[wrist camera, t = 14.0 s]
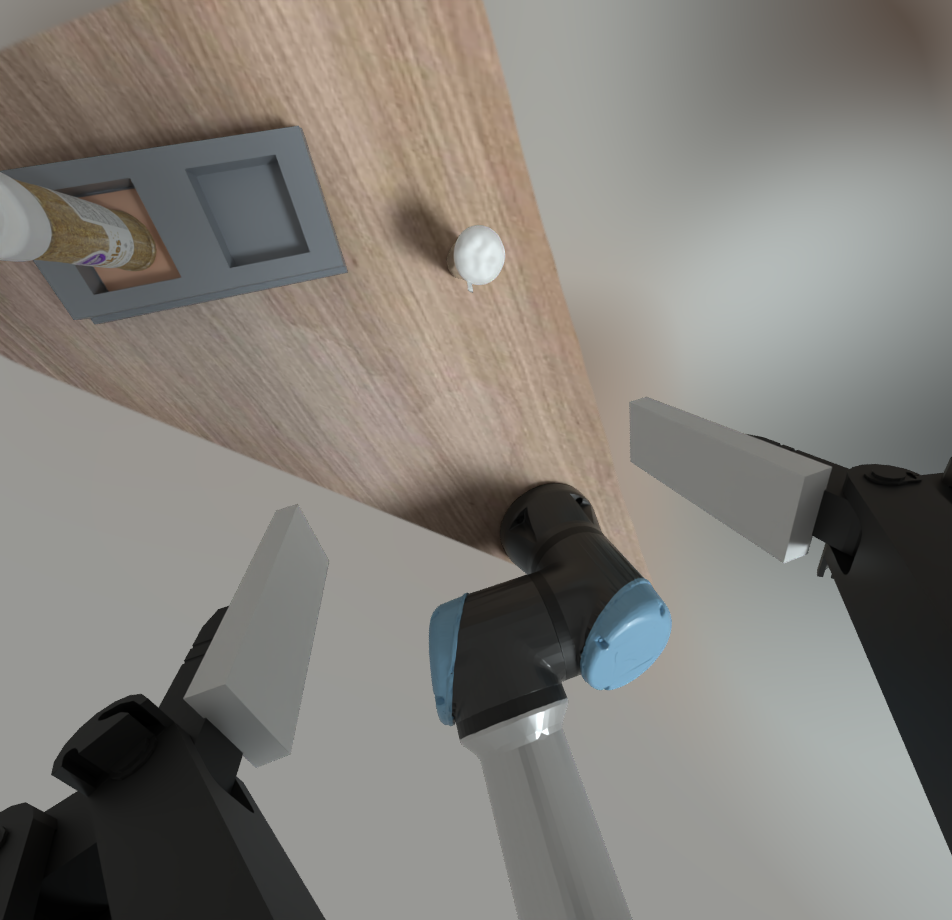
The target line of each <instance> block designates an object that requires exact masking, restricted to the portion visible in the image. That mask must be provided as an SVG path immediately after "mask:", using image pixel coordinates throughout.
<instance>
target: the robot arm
mask: <svg viewBox="0 0 952 920" xmlns="http://www.w3.org/2000/svg"><path fill="white" fill-rule="evenodd" d="M630 458H631V462H632V463H634V464H635V465H636V466H638V467H639V468H641V469H642V470H644V471H645V472H647V473H648V474H650V475H651V476H653V477H654V478H656V479H657V480H659V481H660V482H662V483H663V484H665V485H666V486H668V487H670V488H671V489H672V490H674V491H675V492H677V493H678V494H680V495H681V496H683V497H685V498H686V499H688V500H689V501H691V502H692V503H694V504H695V505H697V506H698V507H700V508H701V509H703V510H704V511H706V512H707V513H709V514H710V515H712V516H713V517H715V518H716V519H718V520H719V521H721V522H722V523H724V524H725V525H727V526H728V527H730V528H731V529H733V530H734V531H736V532H737V533H739V534H740V535H742V536H743V537H745V538H746V539H748V540H749V541H751V542H752V543H754V544H755V545H757V546H758V547H760V548H761V549H763V550H764V551H766V552H767V553H769V554H771V555H772V556H773V557H775V558H776V559H778V560H779V561H781V562H782V563H785V562H788V561H791V560H793V559H796V558H798V557H801V556H804V555H806V554H807V553H808V551H809V547H810V543H811V540H812V536H814V537H816V538H818V539H820V540H821V541H823V542H825V547H824V550H823V553H822V557H821V560H820V563H819V566H818V569H817V576H819V577H823V575H824V572H825V570H826V569H827V568H829V569H830V571H831V573H832V575H831V578H833V579H834V580H835V583H836V585H837V587H838V590H839V592H840V594H841V597H842V599H843V601H844V604H845V606H846V608H847V611H848V613H849V615H850V618H851V620H852V622H853V625H854V627H855V629H856V632H857V634H858V637H859V639H860V641H861V644H862V646H863V648H864V651H865V653H866V655H867V658H868V660H869V662H870V665H871V667H872V669H873V672H874V674H875V676H876V679H877V681H878V683H879V686H880V688H881V690H882V693H883V695H884V697H885V699H886V702H887V704H888V707H889V709H890V711H891V714H892V716H893V718H894V721H895V723H896V725H897V728H898V730H899V733H900V735H901V737H902V740H903V742H904V744H905V747H906V749H907V751H908V754H909V756H910V758H911V760H912V763H913V765H914V767H915V770H916V772H917V775H918V777H919V779H920V782H921V784H922V786H923V789H924V791H925V793H926V796H927V798H928V800H929V803H930V805H931V807H932V810H933V812H934V815H935V817H936V819H937V822H938V824H939V826H940V829H941V831H942V833H943V836H944V838H945V840H946V843H947V845H948V847H949V850H950V852H951V854H952V457H951V458H950V460H949V462H948V464H947V467H946V469H945V471H944V473H937V474H928V475H919V474H917V473H915V472H912V471H910V470H907V469H904V468H899V467H895V466H890V465H879V464H869V465H868V464H867V465H859V466H855V467H852V468H851V469H848V468H845V467H843V466H840V465H837V464H834V463H831V462H829V461H826V460H824V459H821V458H818V457H815V456H813V455H810V454H807V453H804V452H802V451H799V450H796V451H795V450H794V448H791V447H788V446H785V445H780V443H777V442H775V441H772V440H769V439H767V438H764V437H759V436H753V435H748V434H744V433H741V432H738V431H736V430H733V429H730V428H728V427H725V426H722V425H720V424H717V423H715V422H712V421H709V420H707V419H704V418H701V417H699V416H696V415H693V414H691V413H688V412H685V411H683V410H680V409H678V408H675V407H672V406H670V405H667V404H664V403H662V402H659V401H657V400H654V399H651V398H649V397H645V398H641V399H638V400H635V401H631V402H630ZM500 538H501V542H502V545H503V547H504V549H505V551H506V553H507V555H508V557H509V558H510V559H511V561H512V562H513V563H514V564H515V565H517V566H518V567H519V568H520V569H521V570H522V571H524V572H525V573H526V574H527V575H524V576H521V577H518V578H515V579H512V580H509V581H506V582H503V583H500V584H497V585H494V586H491V587H488V588H485V589H482V590H480V591H476V592H473V593H470V594H469V593H465V594H464V595H463V596H461V597H459V598H457V599H454V600H451V601H449V602H447V603H444V604H441V605H440V606H438V608H436V609H435V611H434V612H433V614H432V617H431V620H430V627H429V655H430V669H431V678H432V686H433V692H434V694H435V700H436V709H437V713H438V716H439V718H440V721H441V722H442V723H443V724H444V725H449V726H453V725H454V724H455V722H456V725H457V729H458V734H459V739H460V743H461V744H462V745H463V746H464V747H466V748H467V749H469V750H470V751H472V752H473V753H474V754H476V755H477V757H478V758H479V759H480V761H481V764H482V768H483V773H484V777H485V781H486V785H487V789H488V794H489V797H490V802H491V806H492V810H493V814H494V819H495V823H496V827H497V831H498V836H499V840H500V844H501V848H502V852H503V856H504V861H505V864H506V869H507V873H508V877H509V882H510V886H511V890H512V894H513V898H514V903H515V906H516V911H517V915H518V919H519V920H632V917H631V914H630V911H629V909H628V906H627V903H626V901H625V898H624V895H623V892H622V889H621V887H620V884H619V881H618V879H617V876H616V874H615V870H614V868H613V865H612V862H611V859H610V857H609V854H608V851H607V848H606V846H605V843H604V840H603V837H602V835H601V832H600V829H599V827H598V824H597V821H596V818H595V816H594V813H593V810H592V807H591V805H590V802H589V799H588V797H587V794H586V791H585V788H584V786H583V783H582V780H581V777H580V775H579V772H578V769H577V767H576V764H575V761H574V758H573V755H572V753H571V751H570V747H569V745H568V742H567V739H566V736H565V734H564V731H563V728H562V726H563V719H564V716H565V712H566V709H567V706H568V699H567V696H566V694H565V691H564V689H563V686H562V681H565V680H567V679H570V678H573V677H575V676H578V675H582V677H583V679H584V680H585V681H586V682H587V683H588V684H590V686H591V687H593V688H595V689H597V690H603V689H605V690H613V689H616V688H619V687H621V686H624V685H626V684H627V683H629V682H631V681H633V680H634V679H636V678H637V677H639V676H640V675H641V674H642V673H643V672H645V671H646V670H647V669H648V668H649V667H650V666H651V665H652V664H653V663H654V661H655V660H656V659H657V658H658V656H659V655H660V654H661V652H662V651H663V649H664V648H665V646H666V644H667V642H668V639H669V636H670V633H671V626H672V620H671V615H670V612H669V609H668V608H667V606H666V604H665V603H664V602H663V600H662V599H661V598H660V596H659V595H658V594H657V593H656V591H655V590H654V589H653V587H652V585H651V583H650V582H649V581H648V580H646V579H644V577H643V576H642V575H641V574H640V573H639V572H638V571H637V570H636V569H635V568H634V567H633V566H632V565H631V564H630V562H629V561H628V560H627V559H626V558H625V557H624V556H623V555H622V554H621V553H620V552H619V551H618V550H617V548H616V547H615V546H614V545H613V544H612V543H611V542H610V541H609V540H608V539H607V538H606V537H605V536H604V534H603V533H602V531H601V528H600V526H599V523H598V520H597V517H596V515H595V512H594V509H593V507H592V505H591V504H590V502H589V501H588V500H587V499H586V498H585V497H584V496H583V495H582V494H581V493H580V492H579V491H578V490H577V489H575V488H573V487H571V486H569V485H565V484H546V485H542V486H539V487H536V488H534V489H532V490H530V491H528V492H526V493H525V494H523V495H522V496H521V497H519V498H518V499H517V500H516V501H515V502H514V503H513V504H512V505H511V506H510V508H509V509H508V511H507V512H506V514H505V516H504V518H503V521H502V524H501V529H500ZM328 564H329V560H328V558H327V556H326V554H325V552H324V551H323V549H322V547H321V545H320V544H319V542H318V540H317V538H316V536H315V534H314V532H313V531H312V529H311V527H310V525H309V523H308V521H307V520H306V518H305V516H304V514H303V512H302V511H301V509H300V507H299V505H298V504H297V505H293V506H290V507H287V508H284V509H281V510H277V511H276V512H275V514H274V516H273V518H272V520H271V522H270V524H269V526H268V529H267V530H266V533H265V534H264V537H263V538H262V541H261V543H260V545H259V547H258V549H257V551H256V553H255V555H254V557H253V559H252V561H251V563H250V565H249V567H248V569H247V571H246V573H245V575H244V577H243V579H242V581H241V583H240V585H239V587H238V589H237V591H236V593H235V595H234V597H233V599H232V601H231V603H230V605H229V606H227V607H224V608H221V609H218V610H217V612H216V613H215V614H214V615H213V616H212V617H211V618H210V619H209V620H208V621H207V623H206V624H205V625H204V626H203V627H202V629H201V631H200V632H199V634H198V637H197V638H196V640H195V642H194V643H193V648H192V649H190V651H189V653H188V655H187V656H186V659H185V660H184V661H185V664H182V666H181V667H180V669H179V671H178V673H177V675H176V677H175V679H174V680H173V682H172V684H171V686H170V688H169V690H168V692H167V693H166V695H165V697H164V699H163V701H162V703H161V704H160V706H159V708H158V707H157V706H156V705H154V703H152V702H151V701H150V700H149V699H148V698H146V697H145V696H144V695H142V694H137V695H129V696H127V697H125V698H122V699H120V700H118V701H115V702H114V703H112V704H111V705H109V706H108V707H106V708H104V709H103V710H101V711H100V712H98V713H97V714H96V715H94V716H93V717H92V718H91V719H90V720H89V721H88V722H86V723H85V724H84V725H83V726H82V727H81V728H79V730H78V731H77V732H76V733H75V734H74V735H73V736H72V737H71V738H70V740H69V741H68V742H67V743H66V744H65V745H64V747H63V748H62V750H61V752H60V753H59V755H58V756H57V758H56V760H55V761H54V765H53V769H52V774H51V775H52V776H54V777H56V778H58V779H59V780H61V781H62V782H64V783H66V784H67V785H69V786H71V787H72V788H74V789H76V790H77V792H75V793H74V794H72V795H71V796H69V797H67V798H66V799H64V800H63V801H61V802H60V803H58V804H56V805H55V806H53V807H52V808H50V809H48V810H47V811H45V812H43V811H41V810H39V809H37V808H35V807H33V806H31V805H30V804H28V803H21V804H18V805H14V806H11V807H9V808H7V809H5V810H4V811H2V812H0V920H326V919H325V918H324V917H323V914H322V913H321V911H320V909H319V908H318V906H317V905H316V903H315V901H314V899H313V898H312V896H311V895H310V893H309V891H308V889H307V888H306V886H305V885H304V883H303V881H302V879H301V878H300V876H299V874H298V873H297V871H296V870H295V868H294V866H293V865H292V863H291V862H290V859H289V858H288V856H287V854H286V853H285V852H284V849H283V848H282V846H281V844H280V843H279V841H278V840H277V838H276V837H275V834H274V833H273V831H272V829H271V828H270V826H269V824H268V823H267V821H266V819H265V818H264V816H263V815H262V813H261V811H260V810H259V808H258V806H257V804H256V803H255V801H254V800H253V798H252V796H251V794H250V793H249V791H248V789H247V788H246V786H245V785H244V783H243V782H242V781H241V780H240V779H239V778H238V777H236V775H237V772H238V768H239V765H240V762H241V759H242V755H243V756H244V757H245V758H246V759H247V760H248V761H249V762H250V763H251V764H252V765H253V766H255V767H256V768H257V767H259V766H262V765H265V764H267V763H270V762H272V761H275V760H278V759H280V758H283V757H285V756H288V755H290V754H291V749H292V744H293V740H294V735H295V730H296V724H297V719H298V714H299V710H300V704H301V699H302V694H303V690H304V684H305V679H306V675H307V670H308V664H309V659H310V654H311V649H312V644H313V639H314V634H315V629H316V624H317V619H318V614H319V609H320V604H321V599H322V594H323V589H324V584H325V579H326V574H327V569H328Z"/></svg>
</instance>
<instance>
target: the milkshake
mask: <svg viewBox="0 0 952 920" xmlns="http://www.w3.org/2000/svg"><path fill="white" fill-rule="evenodd" d="M504 260H505V250H504V246H503V244H502V242H501V239H500V237H499V236H498V234H497V233H496V232H495V231H493V230H492V229H490V228H489V227H486V226H483V225H475V226H471V227H468V228H467V229H465V230H464V231H463V232H462V233H461V234H460V236H459V237H458V239H457V241H456V242H455V244H454V245H453V246H452V247H451V249H450V251H449V254H448V256H447V259H446V261H447V266H448V270H449V271H450V272H451V273H452V274H453V276H454V277H455V278H458V279H462V280H465V281H467V285H468V291H470V292H472V293H473V288H472V284H475V285H484V284H487V283H489V282H491V281H493V280H494V279H495V278H496V277H497V276H498V274H499V273H500V271H501V269H502V267H503V264H504Z"/></svg>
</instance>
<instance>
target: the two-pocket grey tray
mask: <svg viewBox="0 0 952 920" xmlns="http://www.w3.org/2000/svg"><path fill="white" fill-rule="evenodd" d="M0 172H1V173H3V174H5V175H7V176H9V177H10V178H12V179H15V180H18V181H22V182H25V183H28V184H33V185H38V186H41V187H44V188H47V189H51V190H54V191H57V192H60V193H63V194H67V195H70V196H73V197H76V198H80V199H83V200H86V201H89V202H92V203H95V204H98V205H101V206H103V207H105V208H108V209H112V210H120V211H123V212H125V213H128V214H130V215H132V216H133V217H135V218H136V219H138V220H139V221H140V222H141V223H143V224H144V225H145V226H146V228H147V229H148V230H149V232H150V234H151V235H152V237H153V239H154V241H155V244H156V249H157V252H156V257H155V261H154V263H153V264H152V265H151V266H150V267H149V268H147V269H145V270H141V271H127V270H123V269H120V268H102V267H92V266H83V265H75V264H70V263H63V262H54V261H43V260H33V261H34V263H35V264H36V266H37V267H38V268H39V270H40V271H41V273H42V274H43V276H44V277H45V279H46V280H47V282H48V283H49V285H50V286H51V288H52V289H53V290H54V292H55V293H56V295H57V296H58V298H59V299H60V301H61V302H62V304H63V305H64V307H65V308H66V309H67V311H68V312H69V314H70V315H71V317H72V318H73V320H81V319H90V318H91V320H92V321H93V323H94V324H101V323H106V322H111V321H116V320H121V319H125V318H130V317H135V316H140V315H145V314H150V313H154V312H159V311H164V310H169V309H174V308H179V307H183V306H188V305H193V304H198V303H203V302H208V301H212V300H217V299H222V298H227V297H232V296H237V295H241V294H246V293H251V292H256V291H261V290H266V289H271V288H275V287H280V286H285V285H290V284H295V283H300V282H304V281H309V280H314V279H319V278H324V277H329V276H333V275H338V274H343V273H348V271H347V267H346V264H345V261H344V258H343V255H342V252H341V249H340V246H339V242H338V239H337V236H336V233H335V230H334V227H333V224H332V220H331V217H330V214H329V211H328V208H327V205H326V202H325V198H324V195H323V192H322V189H321V186H320V183H319V180H318V177H317V173H316V170H315V167H314V164H313V161H312V158H311V155H310V151H309V148H308V145H307V142H306V139H305V136H304V133H303V130H302V128H300V127H299V126H294V127H287V128H280V129H274V130H267V131H261V132H254V133H247V134H241V135H234V136H228V137H221V138H214V139H208V140H201V141H194V142H188V143H181V144H175V145H168V146H161V147H155V148H148V149H142V150H135V151H128V152H122V153H115V154H109V155H102V156H95V157H89V158H82V159H76V160H69V161H62V162H56V163H49V164H43V165H36V166H29V167H23V168H16V169H10V170H3V171H0Z"/></svg>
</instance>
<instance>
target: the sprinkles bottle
mask: <svg viewBox="0 0 952 920" xmlns="http://www.w3.org/2000/svg"><path fill="white" fill-rule="evenodd" d="M156 252H157V249H156V244H155V241H154V239H153V237H152V235H151V234H150V232H149V230H148V229H147V228H146V226H145V225H144V224H143V223H141V222H140V221H139V220H138V219H136V218H135V217H133V216H132V215H130V214H128V213H125V212H123V211H120V210H112V209H108V208H105V207H103V206H101V205H98V204H95V203H92V202H89V201H86V200H83V199H80V198H76V197H73V196H70V195H67V194H63V193H60V192H57V191H54V190H51V189H47V188H44V187H41V186H38V185H33V184H28V183H25V182H22V181H18V180H15V179H12V178H10V177H9V176H7V175H5V174H3V173H1V172H0V260H4V261H15V262H25V261H30V260H43V261H54V262H63V263H70V264H75V265H83V266H92V267H102V268H120V269H123V270H127V271H141V270H145V269H147V268H149V267H150V266H151V265H152V264H153V263H154V261H155V257H156Z"/></svg>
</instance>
